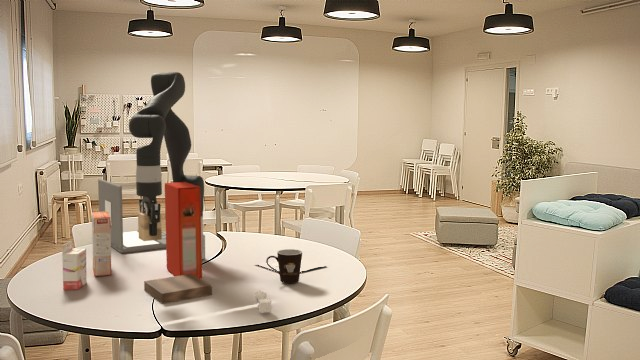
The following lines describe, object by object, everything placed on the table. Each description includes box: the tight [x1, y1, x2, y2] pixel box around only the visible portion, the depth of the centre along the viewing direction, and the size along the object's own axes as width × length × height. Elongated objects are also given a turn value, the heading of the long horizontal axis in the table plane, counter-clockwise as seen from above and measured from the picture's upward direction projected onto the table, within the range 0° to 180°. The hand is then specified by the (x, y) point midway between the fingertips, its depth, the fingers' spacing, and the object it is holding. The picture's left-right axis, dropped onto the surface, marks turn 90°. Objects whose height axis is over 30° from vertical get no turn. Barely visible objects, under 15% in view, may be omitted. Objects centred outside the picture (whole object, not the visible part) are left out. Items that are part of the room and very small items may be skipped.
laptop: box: [97, 178, 166, 254], centre depth 246 cm, size 35×26×28 cm
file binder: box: [164, 182, 203, 279], centre depth 196 cm, size 8×17×32 cm, turn 30°
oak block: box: [137, 212, 163, 241], centre depth 172 cm, size 6×6×8 cm
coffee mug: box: [265, 248, 303, 284], centre depth 191 cm, size 12×9×10 cm
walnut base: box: [143, 274, 213, 304], centre depth 176 cm, size 16×16×3 cm
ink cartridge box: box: [61, 239, 88, 291], centre depth 181 cm, size 9×5×15 cm, turn 5°
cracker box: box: [91, 211, 112, 277], centre depth 199 cm, size 14×6×21 cm, turn 24°
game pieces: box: [255, 291, 272, 314], centre depth 164 cm, size 12×3×3 cm, turn 13°
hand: (150, 233), depth 173 cm, fingers closed on oak block, 5 cm apart
